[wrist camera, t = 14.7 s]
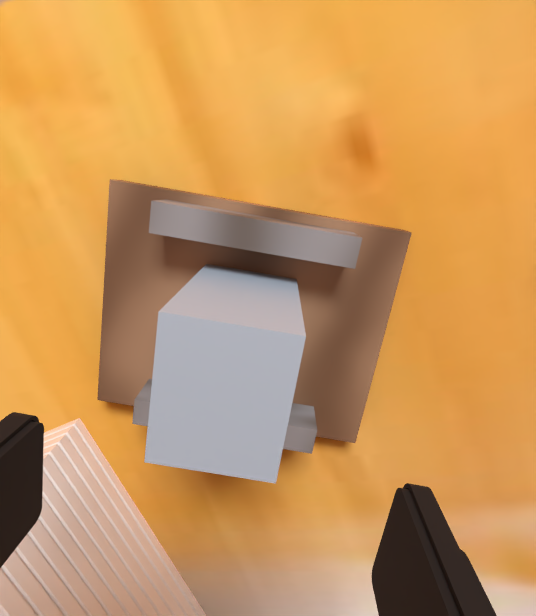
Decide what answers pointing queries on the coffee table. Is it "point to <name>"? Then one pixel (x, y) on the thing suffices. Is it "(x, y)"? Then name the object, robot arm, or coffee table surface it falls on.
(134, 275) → the display stand
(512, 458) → the coffee table surface
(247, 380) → the slate block
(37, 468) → the robot arm
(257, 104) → the coffee table surface
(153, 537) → the stack of papers
